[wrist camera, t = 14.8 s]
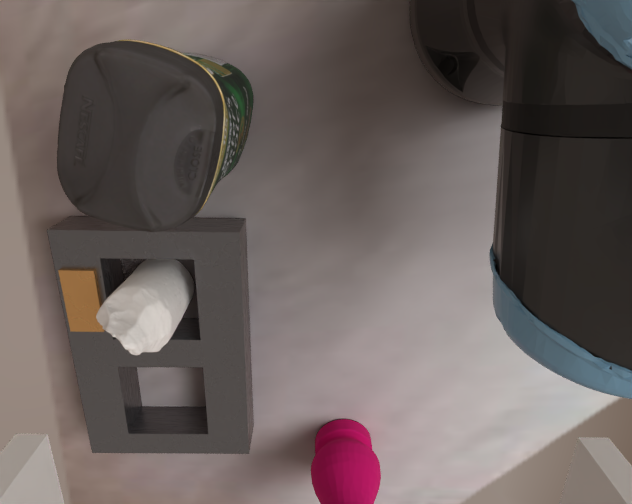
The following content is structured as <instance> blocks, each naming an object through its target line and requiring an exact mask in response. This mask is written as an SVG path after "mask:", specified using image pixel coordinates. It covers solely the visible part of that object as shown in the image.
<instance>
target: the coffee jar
mask: <svg viewBox="0 0 632 504" xmlns="http://www.w3.org/2000/svg"><path fill="white" fill-rule="evenodd" d="M252 109H253V91H252V88H251V85H250V82H249V80H248V79H247V78H246V76H245V75H244V74H243V73H242V72H241V71H240V70H238V69H237V68H236V67H234V66H232V65H230V64H228V63H226V62H223V61H221V60H218V59H216V58H212V57H209V56H204V55H200V54H192V53H183V54H182V53H180V52H178V51H175V50H173V49H170V48H167V47H164V46H161V45H157V44H153V43H149V42H144V41H138V40H119V41H115V42H110V43H102V44H98V45H95V46H93V47H91V48H89V49H87V50H85V51H83V52H82V53H81V54H80V55H79V56H78V57H77V58H76V59H75V60H74V62H73V64H72V65H71V67H70V69H69V72H68V75H67V79H66V84H65V85H64V94H63V100H62V107H61V114H60V123H59V134H58V150H57V170H58V175H59V179H60V182H61V185H62V187H63V190H64V192H65V194H66V195H67V197H68V198H69V200H70V201H71V202H72V203H73V204H74V205H75V206H76V207H77V209H78V210H79V211H80V212H82V213H84V214H86V215H89V216H91V217H94V218H96V219H99V220H102V221H105V222H108V223H111V224H114V225H118V226H122V227H125V228H130V229H134V230H140V231H146V232H160V231H166V230H170V229H173V228H176V227H178V226H180V225H182V224H183V223H185V222H186V221H188V220H189V219H191V218H192V217H194V216H195V215H196V214H197V213H198V212H199V211H200V210H201V209H202V208H203V206H204V204H205V203H206V201H207V199H208V198H209V196H210V194H211V192H212V191H213V189H214V188H215V186H216V184H217V183H218V182H219V181H220V180H221V179H222V178H223V177H225V176H226V175H227V174H228V173H229V172H230V171H231V170H232V169H233V168H234V167H235V166H236V164H237V162H238V160H239V158H240V156H241V153H242V151H243V148H244V145H245V142H246V139H247V135H248V131H249V127H250V123H251V117H252Z"/></svg>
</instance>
